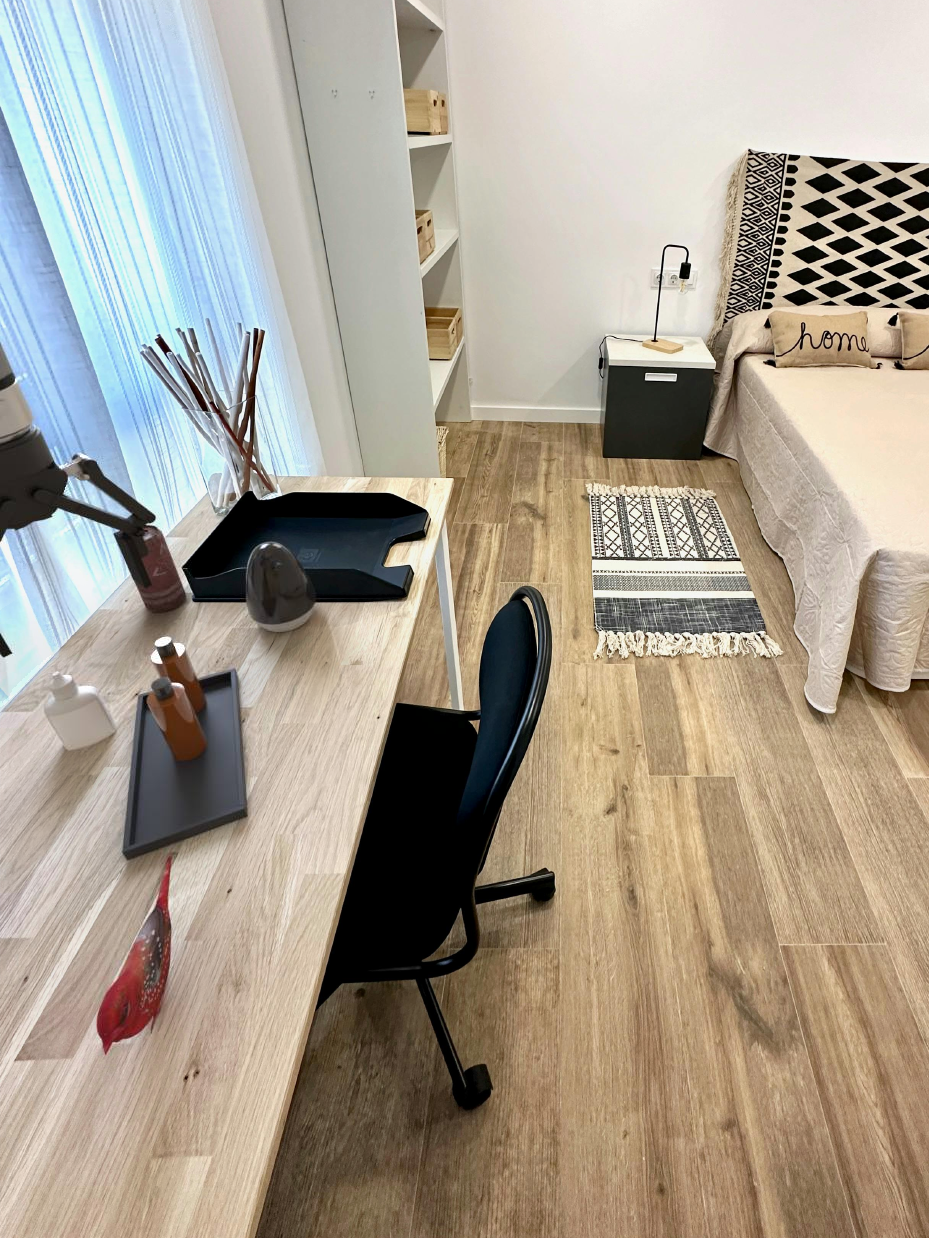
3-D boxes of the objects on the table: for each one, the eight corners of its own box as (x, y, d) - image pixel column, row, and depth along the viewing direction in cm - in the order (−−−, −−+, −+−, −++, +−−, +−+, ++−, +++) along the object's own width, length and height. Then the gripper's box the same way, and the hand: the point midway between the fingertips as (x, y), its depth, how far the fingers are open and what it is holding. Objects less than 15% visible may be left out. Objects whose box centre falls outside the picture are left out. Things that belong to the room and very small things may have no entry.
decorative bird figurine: (120, 1097, 54) (73, 1049, 48) (173, 890, 68) (141, 836, 63) (158, 1086, 54) (116, 1037, 49) (202, 883, 69) (173, 829, 63)
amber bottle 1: (174, 700, 89) (146, 636, 83) (206, 691, 91) (180, 627, 84) (174, 720, 86) (144, 656, 80) (206, 711, 88) (180, 646, 81)
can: (181, 585, 112) (155, 518, 104) (190, 604, 108) (164, 535, 100) (142, 599, 109) (112, 530, 101) (149, 618, 104) (119, 548, 97)
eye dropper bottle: (107, 750, 83) (70, 685, 76) (60, 754, 82) (19, 688, 76) (123, 723, 86) (89, 659, 80) (79, 727, 86) (41, 662, 79)
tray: (143, 705, 89) (138, 694, 88) (238, 677, 94) (234, 667, 93) (128, 863, 70) (121, 852, 69) (249, 819, 75) (244, 808, 74)
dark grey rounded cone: (265, 651, 99) (240, 573, 91) (246, 617, 105) (221, 541, 97) (330, 625, 104) (312, 548, 96) (307, 593, 111) (289, 520, 103)
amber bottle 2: (173, 742, 83) (142, 677, 77) (207, 732, 85) (179, 667, 78) (172, 766, 80) (139, 700, 74) (207, 754, 82) (178, 688, 75)
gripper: (-200, 501, 46) (-55, 702, 58) (150, 402, 64) (208, 570, 76) (-228, 473, 50) (-85, 668, 61) (112, 386, 68) (173, 549, 79)
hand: (77, 614), depth 68 cm, fingers open, 13 cm apart
